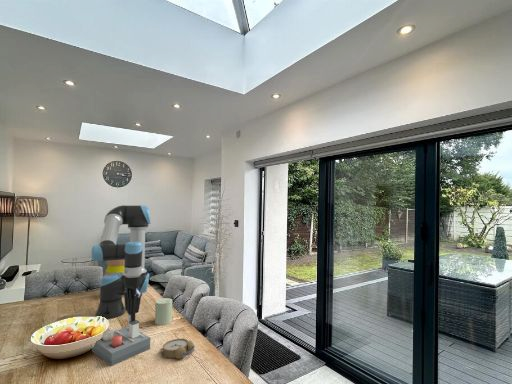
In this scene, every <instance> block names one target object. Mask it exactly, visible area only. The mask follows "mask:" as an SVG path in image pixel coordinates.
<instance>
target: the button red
mask: <svg viewBox="0 0 512 384" xmlns="http://www.w3.org/2000/svg"><path fill="white" fill-rule="evenodd" d="M121 345H122V335H116V336H113V337H112V344H111V347H112V348H116V347H119V346H121Z"/></svg>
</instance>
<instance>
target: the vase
mask: <svg viewBox="0 0 512 384" xmlns="http://www.w3.org/2000/svg"><path fill="white" fill-rule="evenodd" d="M106 262H107V263H106V264H107V268H106V270H105V272H104V275H103V277H104V276H106V275H109V274H113V273H122V274H123V275H124V265H125V260H109V261H106ZM122 298H124V295H122Z"/></svg>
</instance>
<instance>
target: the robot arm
mask: <svg viewBox="0 0 512 384" xmlns="http://www.w3.org/2000/svg"><path fill="white" fill-rule="evenodd" d="M150 215H151V214H150V207H149V206H147V205H142V204H141V205H125V204H124V205H119V206H116V207H114V208H112V209H110V210H109V211H108V212H107V213H106V214H105V217H104V219H103V220H104V221H103V222H104V223H103V224H104V227H103V230H102V234H101V236H100V239H99V244H95V245H93V246H92V248H91V260H92V261H94V262H107V261H109V260H125V265H124V275H123V274H122V273H113V274H109V275H106V276H104V275H103V276H102V277H101V279H100V285H99V287H100V289H99V290H100V291H99V303H98V306H97V310H96V311H95V317H96V316H102V317H105V318H107V319H106V320H110V319H115V318H118V317H121V316H123V315H124V314H125V313H127V327H128V329H129V322H130V321H135V320H136V314H138V313H139V310H140V305H141V299H142V296H143V294H145V293H147V291H148V285H149V280H150V273H148V271H147V269H146V268H145V261H146V257H145V256H146V229H148V228H149V225H150V224H151V216H150ZM122 225H127V228H128V229H129V230H130V237H129V241H128V242H125V243H121V244H120V243H118V242H117V241H118V237H119V232H120V227H121V226H122ZM122 295H124V297H122ZM123 298H124V299H123ZM123 300H124V302H123ZM125 311H126V312H125Z"/></svg>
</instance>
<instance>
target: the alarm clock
mask: <svg viewBox="0 0 512 384" xmlns="http://www.w3.org/2000/svg"><path fill="white" fill-rule="evenodd" d="M160 351H162V355H163V357H164V358H168V359H171V358H172V359H174V358H176V359H177V360H182V359H183V358H185V356H187V355H189V354H192V353H193V352H195V345H194V342H193V341H192V340H188V339H186V338H176V339H175V338H174V339H171V340H168V341H166V342H165V343H164V344H163V345H162V348H160Z"/></svg>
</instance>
